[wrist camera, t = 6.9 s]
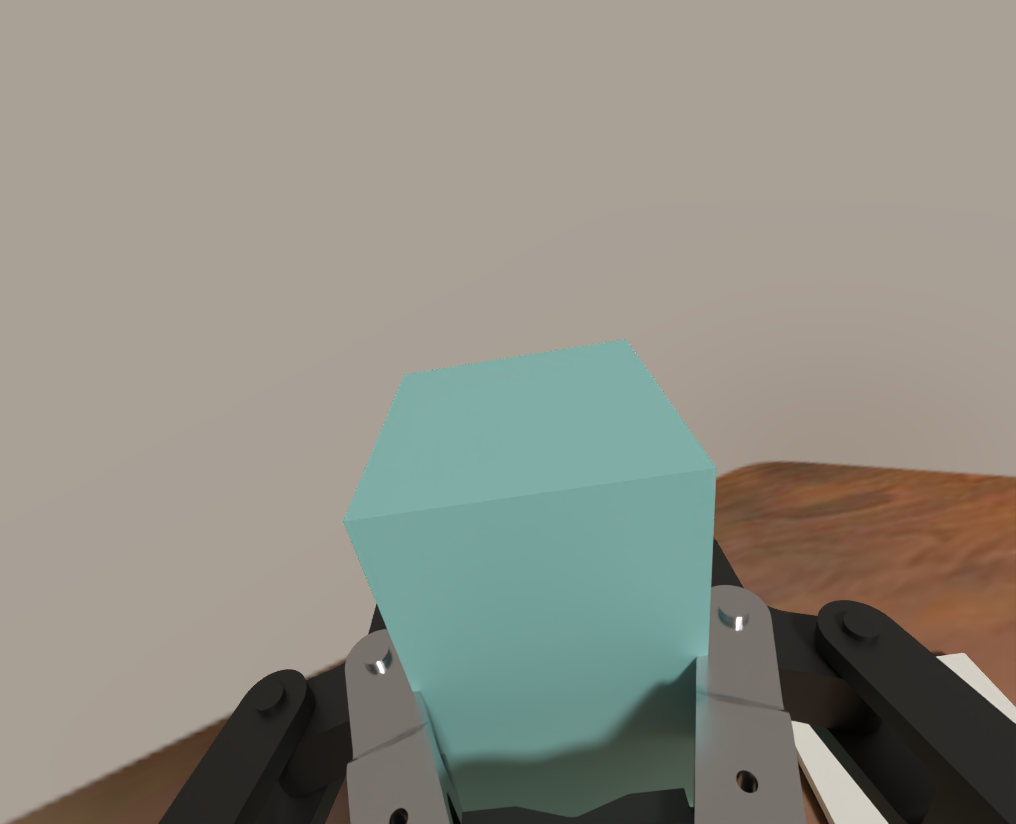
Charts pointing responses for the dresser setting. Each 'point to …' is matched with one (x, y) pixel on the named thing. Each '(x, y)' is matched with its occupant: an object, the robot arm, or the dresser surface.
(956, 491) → the dresser surface
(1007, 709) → the mat
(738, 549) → the dresser surface
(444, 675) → the tall teal pillar
